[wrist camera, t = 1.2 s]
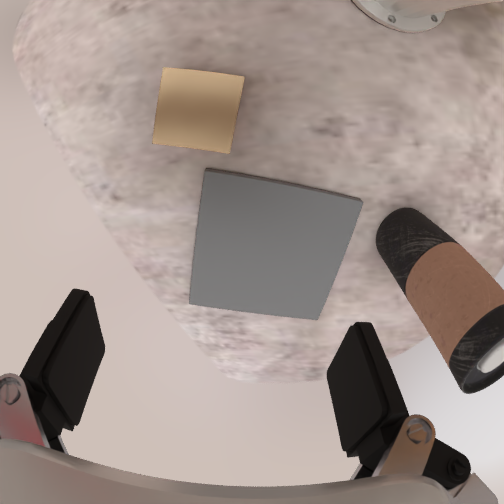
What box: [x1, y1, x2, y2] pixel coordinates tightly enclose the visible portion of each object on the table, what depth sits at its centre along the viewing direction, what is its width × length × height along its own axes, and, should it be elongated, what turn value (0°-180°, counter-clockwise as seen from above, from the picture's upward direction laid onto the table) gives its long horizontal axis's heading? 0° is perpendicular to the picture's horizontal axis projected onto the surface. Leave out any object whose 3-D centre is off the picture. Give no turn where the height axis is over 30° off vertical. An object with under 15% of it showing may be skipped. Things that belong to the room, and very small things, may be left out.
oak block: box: [152, 67, 245, 154], centre depth 22 cm, size 6×6×6 cm
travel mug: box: [376, 208, 504, 394], centre depth 24 cm, size 8×8×20 cm
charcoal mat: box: [189, 168, 363, 320], centre depth 32 cm, size 16×16×1 cm
